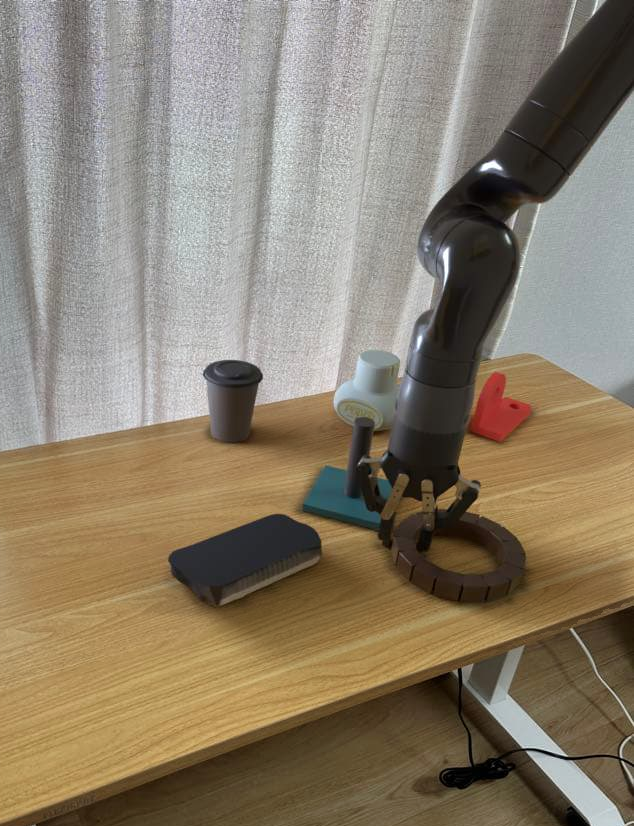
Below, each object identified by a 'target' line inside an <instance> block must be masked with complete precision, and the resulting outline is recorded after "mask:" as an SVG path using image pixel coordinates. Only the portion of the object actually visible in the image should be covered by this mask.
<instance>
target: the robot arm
mask: <svg viewBox="0 0 634 826" xmlns="http://www.w3.org/2000/svg"><path fill="white" fill-rule="evenodd" d="M633 93H634V0H604V2H603V3H601V5H600V7H599V8H598V9H597V10H596V11H595V12H594V14H593V15H592V16H591V17H590V18H589V19H588V20H587V21H586V22H585V24H584V25H583V26H582V27H581V28H580V29H579V30H578V31H577V33H576V34H575V35H574V36H573V37H571V39H570V41H569V42H568V43H567V44H566V45H565V46H564V47H563V48H562V50H561V51H560V52H559V53H558V55H557V56H555V58H554V59H553V61H552V62H551V63H550V64H549V65H548V66H547V68H546V69H545V70H544V71H543V72H542V74H541V75H540V77H539V78H538V79H537V81H536V82H535V84H534V85H533V86H532V88H531V89H530V90H529V92H528V93H527V94H526V96H525V97H524V99H523V101H522V102H521V103H520V104H519V106H518V107H517V109H516V111H515V112H514V114H513V115H512V117H511V118H510V119H509V121H508V122H507V124H506V125H505V127H504V128H503V131H501V132H500V134H499V136H498V137H497V139H496V141H495V142H494V143H493V145H492V147H491V148H490V149H489V150H488V151H487V152H486V153H485V154H484V155H483V156H482V157H481V158H479V160H478V161H476V162H475V163H474V164H473V165H471V167H470V168H469V169H468V170H467V171H466V172H465V173H464V174H463V175H462V176H461V177H460V178H459V179H458V180H457V181H456V182H455V183H454V184H452V186H451V187H450V188H449V189H448V190H447V191H446V192H445V193H444V195H443V196H442V197H441V198H440V199H439V200H438V201H437V202H436V204H435V205H434V206H433V208H432V209H431V210H430V212H429V213H428V214H427V217H426V219H425V220H424V222H423V225H422V227H421V229H420V232H419V235H418V239H417V243H416V254H417V258H418V261H419V263H420V265H421V266H422V268H423V269H424V271H425V272H426V273H427V274H428V275H430V276H431V277H432V278H433V279H435V280H436V281H437V282H438V283H439V284H441V286H440V293H439V297H438V300H437V302H436V304H435V307H433V308H429V309H426V310H425V311H423V312H422V313H421V314H420V315H419V316H418V317H417V319H416V320H415V323H414V325H413V328H412V332H411V336H410V340H409V344H408V345H409V346H408V353H407V357H406V360H405V361H406V362H405V367H404V368H405V369H404V370H403V371H404V372H403V374H402V377H401V380H400V384H399V391H398V396H397V399H396V401H395V412H394V417H393V422H392V428H391V429H390V433H389V438H388V439H389V440H388V444H387V449H386V451H384V452H383V454H382V456H379V457H371V455H364V456H363V457H362V458H361V460H360V462H359V464H358V466H357V468H356V471H357V475H358V479H359V482H360V486H361V490H362V493H363V497H364V501H365V504H366V508H367V510H369V511H371V512H373V511H376V512H377V513H379V514H380V516H381V522H380V527H379V530H378V533H377V537H378V540H379V541H382V542H381V546H384V547H389V545H390V542H391V540H392V536H393V532H394V528H395V522H396V518H397V513H398V512H397V511H396V508H397V506H398V504H399V502H400V500H401V498H404V499H414V500H416V501H417V502H421V511H422V513H423V525H422V527H421V531H420V535H419V539H418V542H417V543H416V548H417V550H418V551H419V552H420V553H421V554H422V555H423V552H425V553H426V552H428V551H429V550H430V548H431V545H432V542H433V538H434V535H433V534H434V530H435V529H437V528H442V529H444V530H450V529H451V528H452V527H453V526H454V524H455V523H456V522H457V521H458V520H459V519H460V518H461V516H462V515H463V514H464V513H465V512H468V510H469V509H470V507H472V505H473V504H474V503H475V502H476V501H477V500H478V497H479V494H480V492H481V491H480V490H481V487H482V484H481V482H480V481H479V480H477V479H472V480H469V479H468V478H466V477H464V476H462V474H461V469H460V465H459V461H460V457H461V452H462V449H463V444H464V442H465V436H466V432H467V429H468V425H469V421H470V419H471V412H472V409H473V404H474V399H475V392H476V391H475V390H476V384H477V383H476V382H477V377H478V374H479V369H480V365H481V361H482V358H483V353H484V348H485V343H486V341H487V339H488V337H489V335H490V334H491V332H492V330H493V329H494V327H495V325H496V324H497V321H498V319H499V318H500V316H501V314H502V312H503V310H504V308H505V306H506V304H507V302H508V301H509V299H510V296H511V294H512V293H513V290H514V287H515V285H516V282H517V280H518V276H519V273H520V266H521V245H520V242H519V239H518V236H517V235H516V233H515V231H514V230H513V229H512V228H511V227H510V226H509V225H508V224H506V223H507V221H509V220H510V219H511V218H512V216H514V214H516V213H517V212H518V211H519V210H520V209H521V208H522V207H524V206H526V205H540V204H541V205H542V204H545V203H547V202H549V201H551V200H552V199H553V198H554V197H556V195H557V194H558V193H559V192H560V191H561V189H563V187H564V186H565V185H566V183H567V182H568V180H569V179H570V177H571V176H572V175H573V174H574V172H575V171H576V170H577V168H578V167H579V166H580V164H581V163H582V162H583V161H584V159H585V157H587V155H588V154H589V152H590V151H591V150H592V148H593V147H594V145H595V144H596V143H597V141H598V139H600V137H601V136H602V134H603V133H604V131H605V130H606V128H607V127H608V126H609V125H610V123H611V122H612V121H613V120H614V118H615V117H616V115H617V114H618V112H619V111H620V110H621V108H623V106H624V105H625V103H626V102H627V100H628V99H629V98H630V97H631V95H632V94H633ZM380 469H381V470H382V472H383V475H384V476H385V478H386V480H388V481H389V483H390V485H391V487H392V490H391V493H390V495H389V497H388V499H387V500H386V499H385V498H383V497H382V496H381V492H380V488H379V484H378V480H377V478H378V475H379V473H380ZM454 486H455V488H456V490H455V494H454V495H455V497H456V498H455V499H454V501H453V502H452V503H451V504H450V505H449V507H447V508H446V509H447V510H446V511H445V512H438V509H439V500H440V496H442V495H443V494H444V493H446V492H447V491H449V490H450V489H451V488H453V487H454Z"/></svg>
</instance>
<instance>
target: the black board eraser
mask: <svg viewBox="0 0 634 826" xmlns="http://www.w3.org/2000/svg"><path fill="white" fill-rule="evenodd" d="M322 555H323V550H322V538H321V537H320V535H319V533H318V531H317V530H316V529H315V528H314V527H312V526H310V525H309V524H306V523H303V522H300V521H298V520H295V519H293V518H292V517H291V516H290V515H287V514H284V513H272V514H269V515H266V516H263V517H261V518H258V519H256V520H253V521H251V522H248V523H245V524H241V525H239V526H238V527H234V528H232V529H229V530H227V531H224V532H221V533H219V534H217V535H214V536H212V537H209V538H206V539H204V540H201V541H198V542H196V543H194V544H190V545H188V546H185V547H181V548H177V549H175V550H173V551H172V552H171V553H170V554H169V555H168V557H167V558H168V559H167V562H168V563H169V565H170V574H171V575H172V577H173V578H175V580H177V581H178V582H179V583H180V584H183V585H185V586H186V587H188V588H189V589H190V590H192V592H193V593H194V594H195V595H196V596H197V597H198V598H199V600H200V601H201V602H202V603H206V604H208V605H211V606H215V607H221V606H224V605H226V604H229V603H231V602H233V601H236V600H239V599H243V598H244V597H245V596H247V595H250V594H252V593H253V592H256V591H257V590H260V589H262V588H264V587H267V586H269V585H272V584H274V583H276V582H278V581H280V580H282V579H284V578H287V577H289V576H292V575H294V574H296V573H297V572H299V571H302V570H304V569H307V568H309V567H311V566H314V565H315V564H317V563H318V562H319V561H320V558H321V557H322Z"/></svg>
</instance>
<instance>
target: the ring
mask: <svg viewBox="0 0 634 826" xmlns="http://www.w3.org/2000/svg"><path fill="white" fill-rule="evenodd" d="M447 509H448V508H438V512H445V511H446V510H447ZM422 525H423V513H422V510H421V511H416V512H413V513H411V514H410V515H408V516H407V517H405V518H404V519H403V520H401V521H400V522H399V523H398V524H397V527H396V530H395V533H394V534H393V540H392V545H391V547H390V554H391V557H392V560H393V564H394V566H395V567H396V569H397V570H398V571H399V572H400V573H401V575H402V576H403V577H404V578H405V579H406V580H407V581H408V582H410V583H411V584H412V585H414V586H416V587H417V588H419V589H421V590H422V591H424V592H426V593H429V594H432V595H433V596H436V597H438V598H439V597H440V598H443V599H446V600H451V601H454V602H458V601H459V602H460V603H484V602H485V603H488V602H491V601H492V602H493V601H495V600H498V599H502V598H505V597H506V596H509V594H511V593H512V592H513V591H514V590H515V589H516V588H518V586H519V585H520V583H521V580H522V579H523V575H524V572H525V568H526V563H527V553H526V551H525V549H524V547H523V545H522V543H521V541H520V540H519V538H518V537H517V536H516V535H515V534H513V532H511V531H510V530H509V529H507V527H505V526H504V525H503V526H502V524H500V523H498V522H496V521H494V520H492V519H490V518H487V517H485V516H483V515H481V514H479V513H475V512H470V511H466V512H465V513H464V514H463V515H462V516H461V518H460V519H459V520H458V521H457V522H456V523H455V524H454V526H453V527H452V528H451V529H450V530H444V529H442V528H437V529H435V530H434V534H433V536H436V535H454V536H458V537H460V538H461V537H462V538H466V539H469V540H472V541H474V542H477V543H479V544H480V545H483V546H485V547H486V548H487V549H488V550H489V551H490V552H491V553H492V554H493V555H494V556H495V557H496V558H497V560H498V562H499V564H500V565H499V566H497V568H495V569H493V570H490V571H486V572H482V573H461V572H457V571H454V570H450V569H447V568H444V567H441V566H440V565H438V564H436V563H433V562H432V561H430V560H429V559H427V558H426V557H425V556H424V555H423V553H422V554H421V553H420V552H419V551H418V550H417V543H418V539H419V535H420V531H421V527H422Z"/></svg>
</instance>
